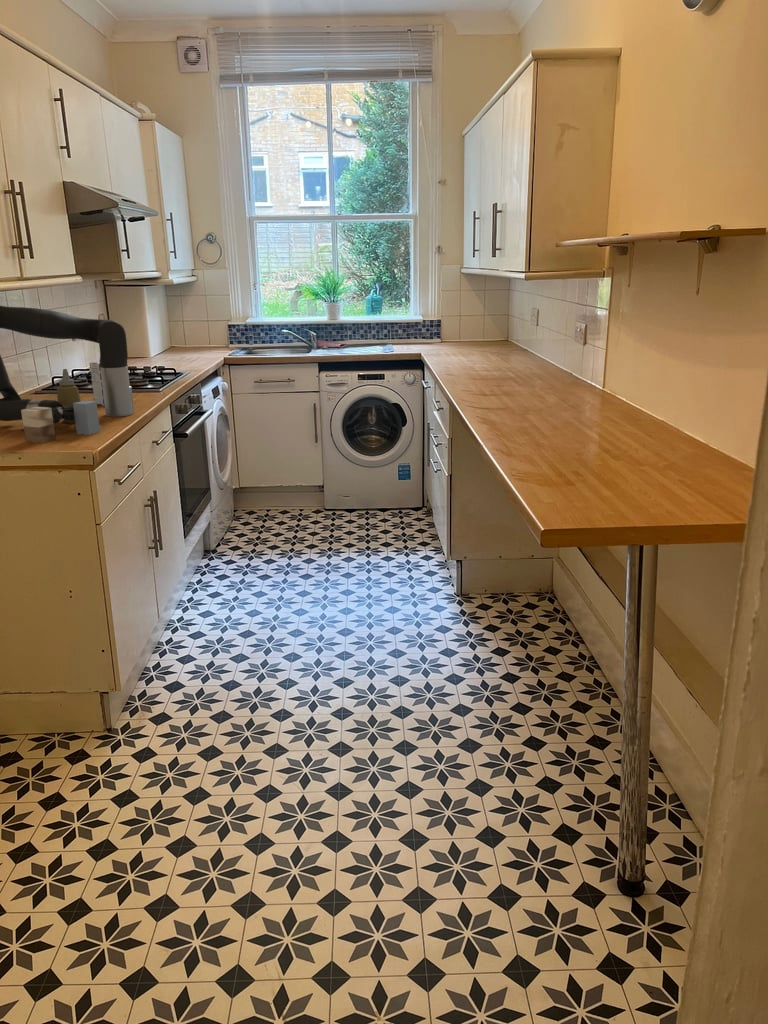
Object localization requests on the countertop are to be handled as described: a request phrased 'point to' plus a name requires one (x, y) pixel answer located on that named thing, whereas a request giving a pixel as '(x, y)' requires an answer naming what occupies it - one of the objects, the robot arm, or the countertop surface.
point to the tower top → (37, 417)
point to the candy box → (97, 383)
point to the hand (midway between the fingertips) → (83, 414)
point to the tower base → (40, 434)
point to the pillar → (86, 417)
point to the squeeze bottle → (67, 392)
